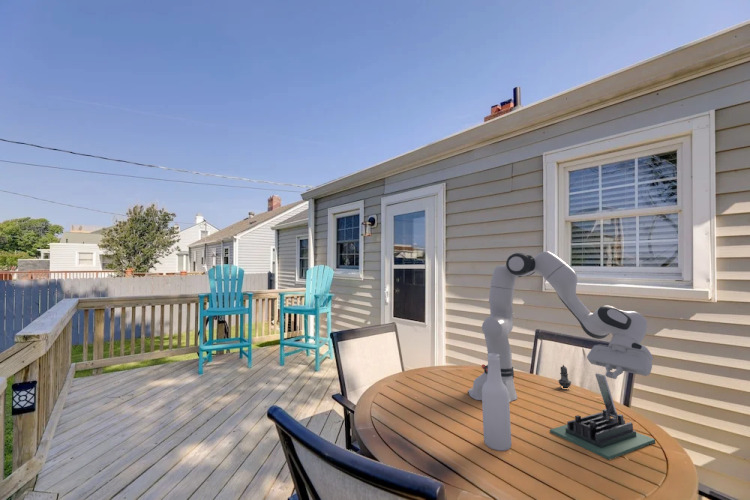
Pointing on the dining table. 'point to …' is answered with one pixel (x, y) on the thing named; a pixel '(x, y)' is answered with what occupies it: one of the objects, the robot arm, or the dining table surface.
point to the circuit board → (607, 451)
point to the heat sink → (600, 429)
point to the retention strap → (606, 395)
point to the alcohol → (496, 408)
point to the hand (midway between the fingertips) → (610, 377)
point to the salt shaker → (564, 378)
